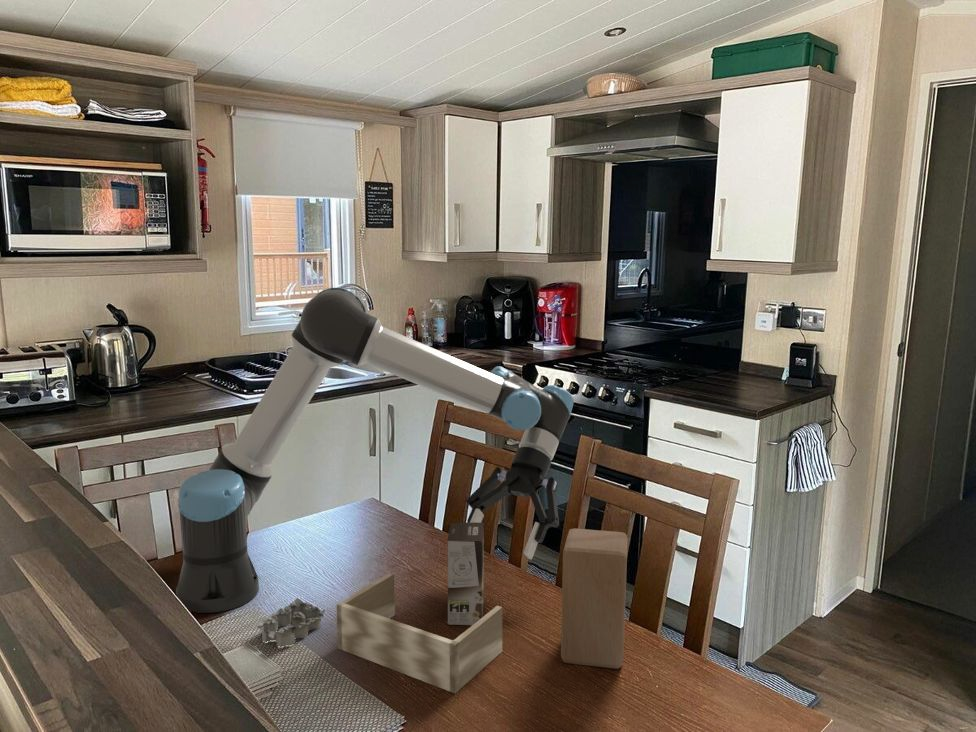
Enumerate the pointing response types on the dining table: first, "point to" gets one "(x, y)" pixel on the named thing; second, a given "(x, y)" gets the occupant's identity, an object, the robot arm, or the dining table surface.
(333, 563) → the dining table surface
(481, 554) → the coffee box
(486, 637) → the wooden u-shaped frame
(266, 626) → the egg carton
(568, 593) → the block
